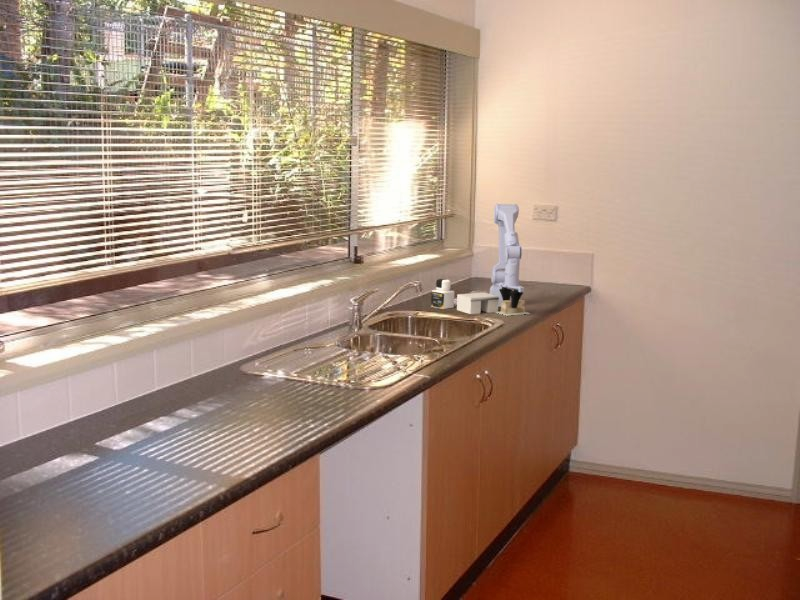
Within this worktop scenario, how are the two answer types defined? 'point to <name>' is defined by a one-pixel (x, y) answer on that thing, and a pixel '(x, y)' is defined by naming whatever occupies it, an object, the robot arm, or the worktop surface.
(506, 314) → the mat
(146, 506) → the worktop surface
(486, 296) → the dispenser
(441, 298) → the medicine bottle
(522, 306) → the wooden block
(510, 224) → the robot arm
